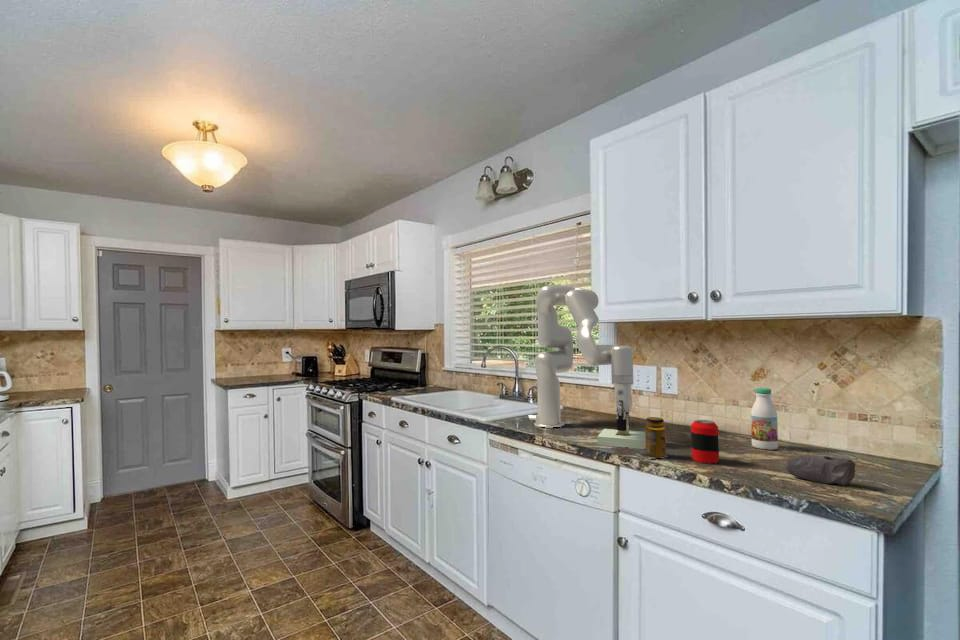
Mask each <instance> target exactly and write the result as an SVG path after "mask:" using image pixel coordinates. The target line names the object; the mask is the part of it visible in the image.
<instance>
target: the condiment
mask: <svg viewBox="0 0 960 640" xmlns="http://www.w3.org/2000/svg"><path fill="white" fill-rule="evenodd" d="M645 424H646V425H645V427H644V428H645V430H644V432H645V444H646V449H645V452H642V453H635V455H636V456H638V457H641V458H644V457H645V458H644V459H647V458H646V457H647V456H649V457H655V458H660V457H665V455H667V454H666V453H667V452H666V451H667V450H666V449H667V448H666V427H665V422H664V419H663V418H661V417H656V416H655V417H653V416H652V417H651V416H649V417H646V423H645ZM643 456H644V457H643Z"/></svg>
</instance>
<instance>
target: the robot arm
mask: <svg viewBox="0 0 960 640" xmlns="http://www.w3.org/2000/svg"><path fill="white" fill-rule="evenodd" d="M599 303H600V302H599V297H598V295H597V293H596V292H595V291H593V290H592V289H586V288H581V287H577V286H572V285H562V284H561V285H560V284H549V285H548V284H547V285H544V286H543V287H541V288H540V289H539V290H538V291H537V294H536V297H535V307H536V312H537V340H538V341H537V342H538V344H539V346H540V347H541V348H544V349H555V350H549V351H548V350H546V351H541V352H539V353H537V355H536V356H535V357H534V367H535V372H536V373H535V374H536V379H537V380H536V385H537V387H536V389H537V414H529V415H528V419H529V420H530V421H535V422H534V423H533V424H534V426H535V427H537V428H541V427H545V428H544V429H554V428H553V427H560V428H563V427H564V426H565V422H564V421H561V385H560V384H561V383H560V380H559V378H558V375H557V374H561V373H567V372H569V371H570V370H571V369H572V367H573V363H574V337H573V333H572V331H571V329H570V328H568V327H567V326H564V325H559V322H558V321H559V317H558V313H557V310H556V309H555V307H554V306H565V307H566V306H567V309H568V310H569V313H570V314H571V316H572V318H573V320H574V322H575V324H576V326H577V328H578V330H577V335H576V337H577V338H576V339H577V340H576V341H577V346H578V348H579V351H580V353H581V355H582V357H583V359H584V360H585V361H586V362H587V363H588V364H589V365H591V366H594V367H595V366H611V367H610V369H611V370H610V371H611V385H614V409H615V413H616V430H619V431H626V419H625V415H626V414H628V415H629V416H630V413H631V412H632V411H633V401H632V400H633V398H632V396H633V395H632V385H634V358H633V357H634V351H633V348H632V346H630V345H615V344H597V343H596V342H595V340H594V339H593V337H592V331H591V330H593V328H595V327H596V326H597V325H598V323H599V321H600V320H599V319H600V318H599V317H598V315H597V313H596V311H595V310H596V309H597V307H598V305H599ZM623 414H624V415H623ZM630 421H631V419H629V426H630V424H631V423H630ZM562 426H563V427H562Z"/></svg>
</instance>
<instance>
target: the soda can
mask: <svg viewBox="0 0 960 640" xmlns="http://www.w3.org/2000/svg"><path fill="white" fill-rule="evenodd" d="M690 436H691V437H690V439H691V440H690V442H691V443H690V445H691V460H692V459H693V460H694V461H693V460H692V461H693V462H695V461H697V462H696V463H698V462H701V463H700V464H704V463H715V464H718V463H719V461H720V458H719V457H720V453H719V452H720V449H719V448H720V444H719V426H718V425H717V424H716V423H715V421H713V420H710V419H709V420H707V419H696V420H694V421H693V422H692V423H691V424H690ZM717 462H718V463H717Z"/></svg>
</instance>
